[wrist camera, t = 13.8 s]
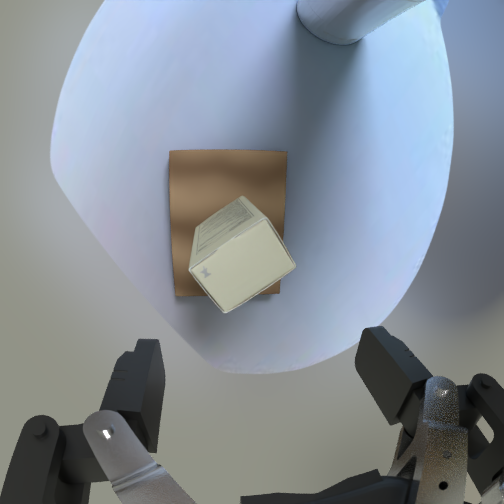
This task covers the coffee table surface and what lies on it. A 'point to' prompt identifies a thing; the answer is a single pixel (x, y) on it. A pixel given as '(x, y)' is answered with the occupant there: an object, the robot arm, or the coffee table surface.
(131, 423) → the robot arm
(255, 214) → the skincare box
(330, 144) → the coffee table surface
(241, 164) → the walnut board
